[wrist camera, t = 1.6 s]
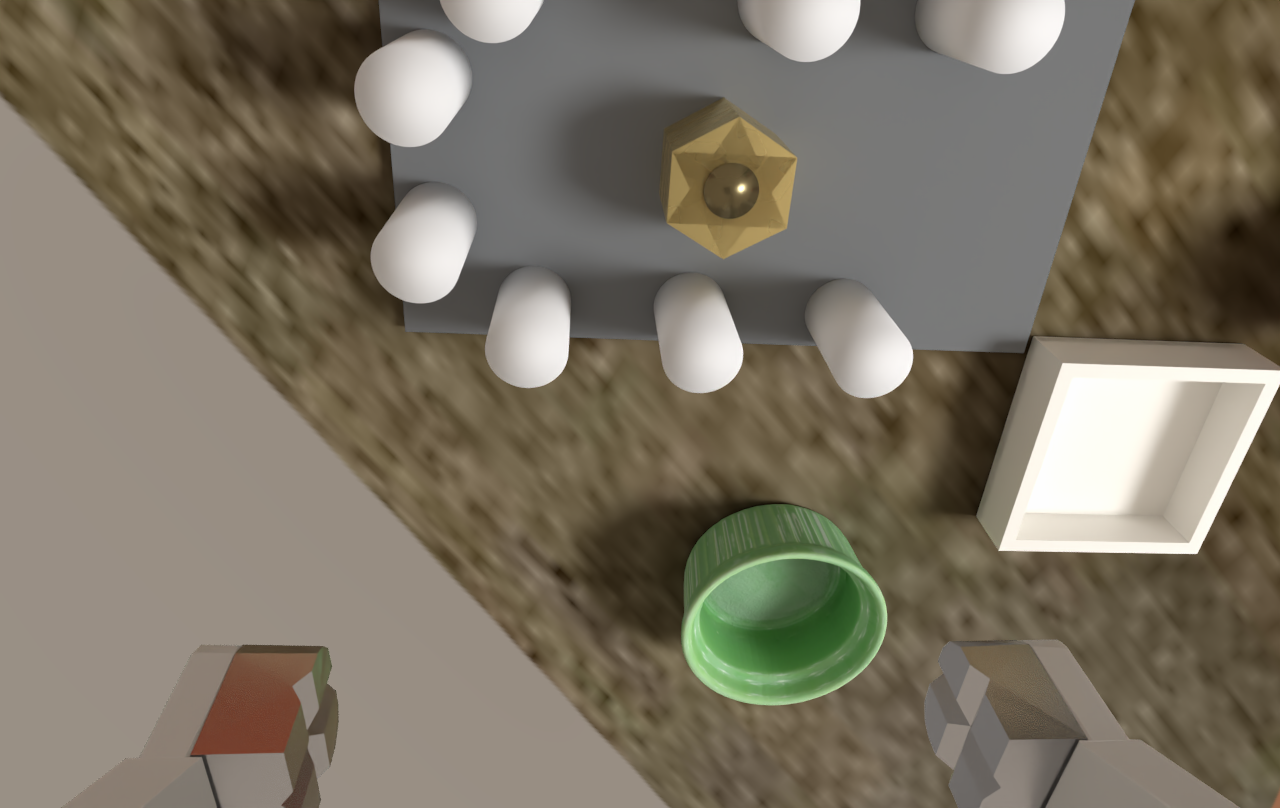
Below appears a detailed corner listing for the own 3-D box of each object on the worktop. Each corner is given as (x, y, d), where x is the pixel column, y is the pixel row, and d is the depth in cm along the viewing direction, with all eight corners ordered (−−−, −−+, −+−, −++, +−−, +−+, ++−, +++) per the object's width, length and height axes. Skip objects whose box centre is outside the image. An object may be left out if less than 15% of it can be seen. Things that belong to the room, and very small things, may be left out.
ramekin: (635, 556, 40) (640, 623, 36) (799, 456, 37) (823, 517, 33) (737, 663, 43) (752, 734, 39) (892, 579, 41) (923, 646, 37)
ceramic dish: (1164, 519, 40) (1197, 553, 38) (975, 516, 39) (998, 550, 37) (1243, 343, 35) (1286, 370, 33) (1033, 336, 35) (1062, 363, 33)
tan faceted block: (763, 229, 32) (782, 262, 28) (657, 225, 31) (664, 257, 28) (781, 100, 29) (803, 120, 26) (666, 94, 29) (675, 113, 26)
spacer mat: (1019, 348, 35) (1079, 407, 31) (407, 327, 33) (380, 385, 29) (1169, -136, 27) (1279, -148, 22) (365, -201, 25) (318, -228, 21)
